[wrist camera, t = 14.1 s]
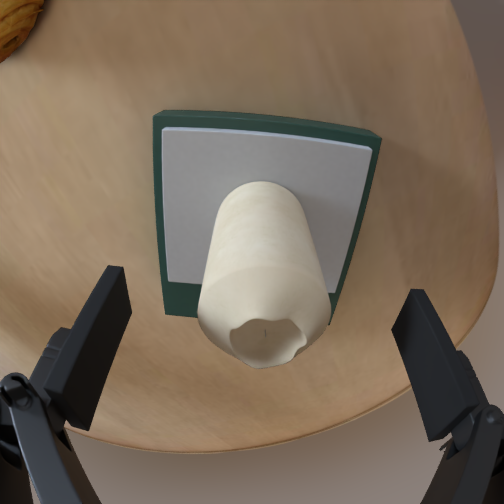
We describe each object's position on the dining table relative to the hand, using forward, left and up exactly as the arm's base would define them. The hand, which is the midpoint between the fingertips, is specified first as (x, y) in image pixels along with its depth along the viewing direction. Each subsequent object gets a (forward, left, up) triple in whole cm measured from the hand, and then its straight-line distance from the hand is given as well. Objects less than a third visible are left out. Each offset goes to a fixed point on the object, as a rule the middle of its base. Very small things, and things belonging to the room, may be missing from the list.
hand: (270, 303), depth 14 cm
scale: (0, +2, -11) cm, 11 cm away
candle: (0, 0, -8) cm, 8 cm away
